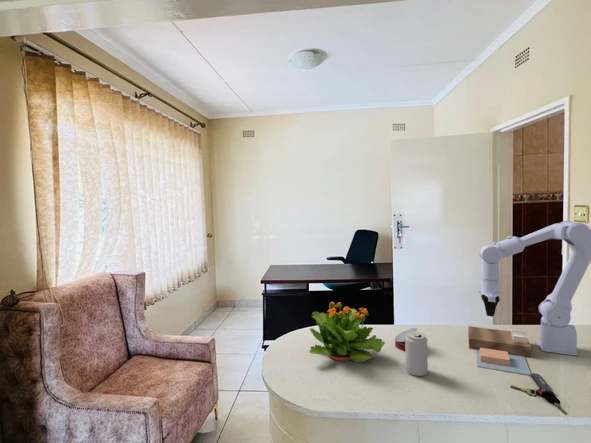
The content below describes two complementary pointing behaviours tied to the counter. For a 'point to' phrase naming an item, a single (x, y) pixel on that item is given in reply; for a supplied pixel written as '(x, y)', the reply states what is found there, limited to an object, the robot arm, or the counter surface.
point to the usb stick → (541, 382)
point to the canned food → (402, 339)
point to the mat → (516, 366)
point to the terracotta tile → (494, 356)
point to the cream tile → (519, 336)
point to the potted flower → (344, 335)
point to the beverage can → (416, 353)
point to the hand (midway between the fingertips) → (490, 315)
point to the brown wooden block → (496, 341)
